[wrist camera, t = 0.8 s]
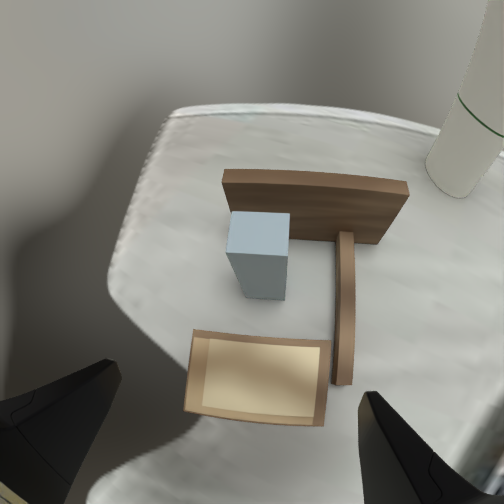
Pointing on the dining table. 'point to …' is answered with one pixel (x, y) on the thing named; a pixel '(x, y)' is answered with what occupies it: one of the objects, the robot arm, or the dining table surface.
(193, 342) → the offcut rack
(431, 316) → the dining table surface
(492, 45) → the cylindrical container
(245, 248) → the slate slat
